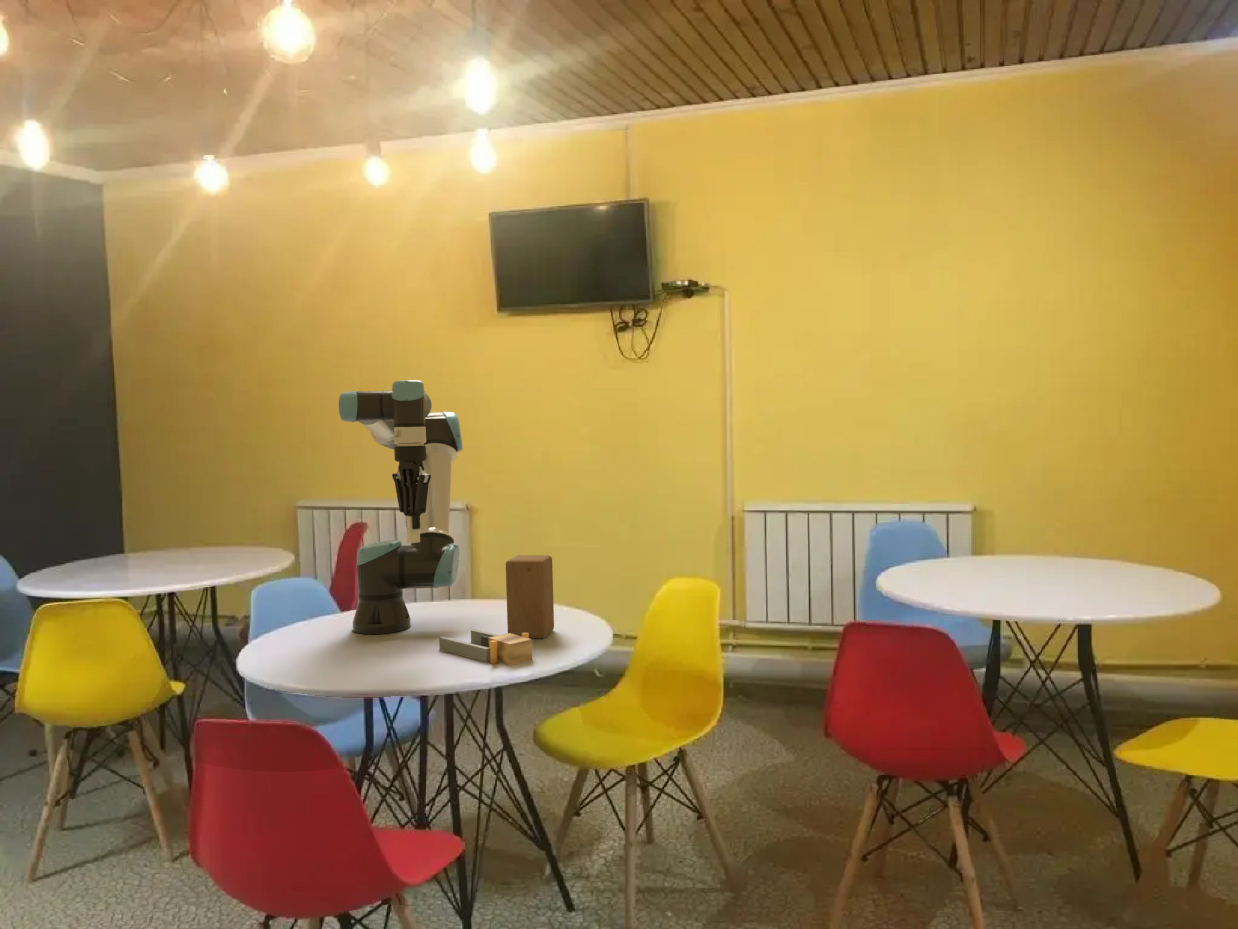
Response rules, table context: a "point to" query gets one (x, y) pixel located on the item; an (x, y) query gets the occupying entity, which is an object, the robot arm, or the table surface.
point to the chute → (474, 646)
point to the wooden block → (530, 595)
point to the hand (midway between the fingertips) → (413, 542)
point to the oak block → (513, 648)
